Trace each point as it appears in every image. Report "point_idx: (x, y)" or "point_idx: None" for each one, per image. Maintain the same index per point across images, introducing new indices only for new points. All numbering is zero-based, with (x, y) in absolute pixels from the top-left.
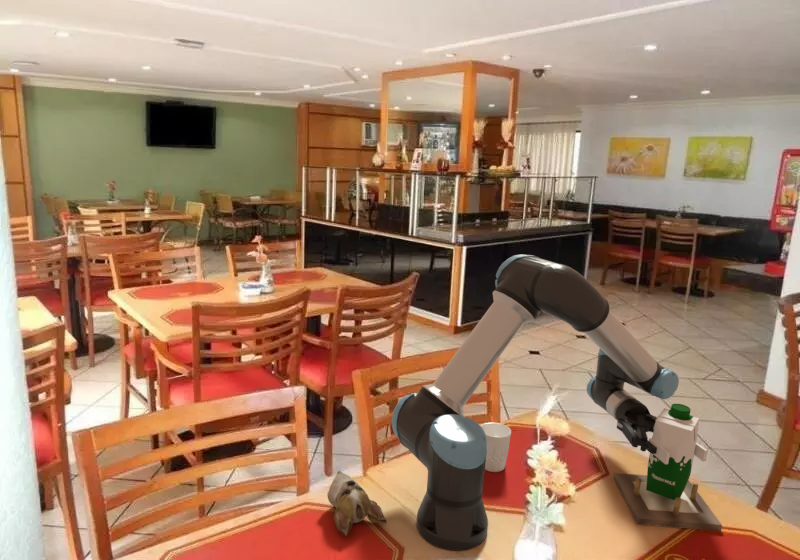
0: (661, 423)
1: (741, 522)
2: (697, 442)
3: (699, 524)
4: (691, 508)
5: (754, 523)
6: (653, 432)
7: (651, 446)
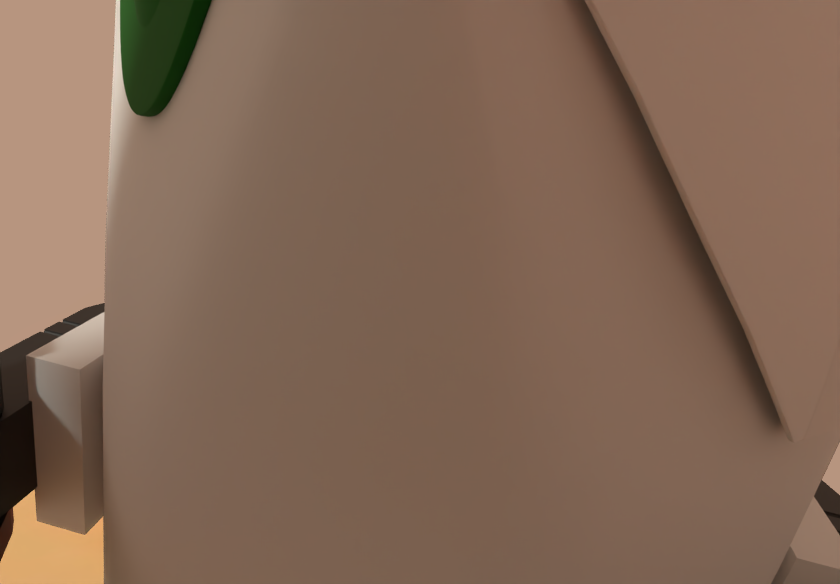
0: None
1: (76, 537)
2: (65, 323)
3: None
4: None
5: (28, 508)
6: (836, 445)
7: (827, 501)
